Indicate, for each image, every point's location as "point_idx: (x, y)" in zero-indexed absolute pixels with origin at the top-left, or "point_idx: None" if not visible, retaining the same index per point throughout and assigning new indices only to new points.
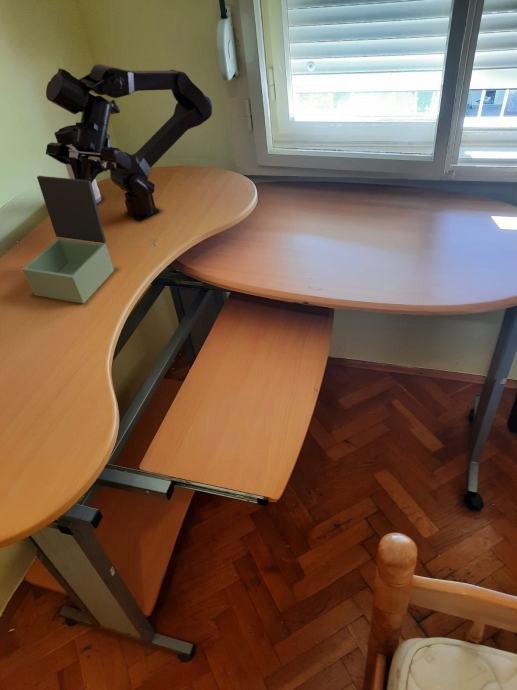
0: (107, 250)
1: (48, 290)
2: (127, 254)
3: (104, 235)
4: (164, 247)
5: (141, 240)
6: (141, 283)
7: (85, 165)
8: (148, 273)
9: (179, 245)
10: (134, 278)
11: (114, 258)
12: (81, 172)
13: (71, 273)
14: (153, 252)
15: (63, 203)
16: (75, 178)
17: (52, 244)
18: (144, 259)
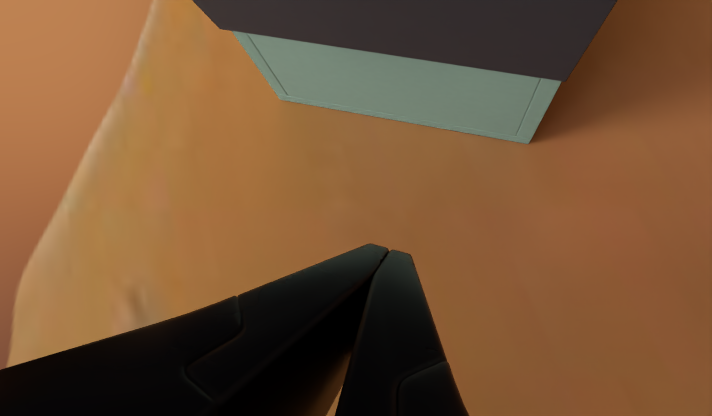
0: (242, 43)
1: None
2: (250, 223)
3: (201, 8)
4: (88, 281)
5: None
6: (151, 23)
7: (26, 391)
8: (134, 85)
9: (24, 297)
10: (184, 51)
11: (304, 189)
12: (248, 349)
13: None
14: (133, 239)
15: None
16: (426, 339)
17: None
18: (165, 183)
